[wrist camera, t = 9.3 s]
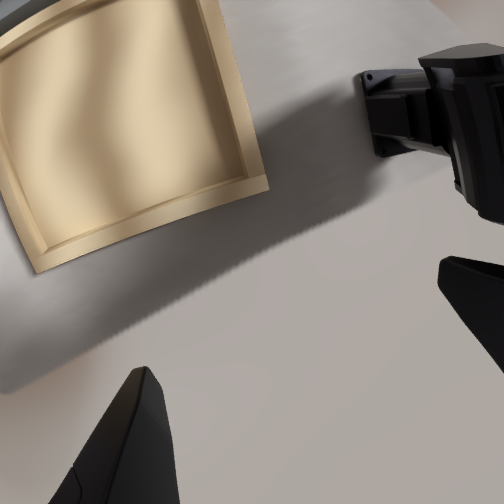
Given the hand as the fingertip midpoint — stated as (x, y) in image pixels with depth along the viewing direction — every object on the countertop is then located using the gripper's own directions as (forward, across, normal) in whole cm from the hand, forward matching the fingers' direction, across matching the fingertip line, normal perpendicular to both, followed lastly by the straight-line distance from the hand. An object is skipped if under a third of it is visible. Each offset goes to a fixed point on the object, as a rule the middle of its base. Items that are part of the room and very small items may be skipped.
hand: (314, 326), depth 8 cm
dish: (+13, +6, -8) cm, 17 cm away
